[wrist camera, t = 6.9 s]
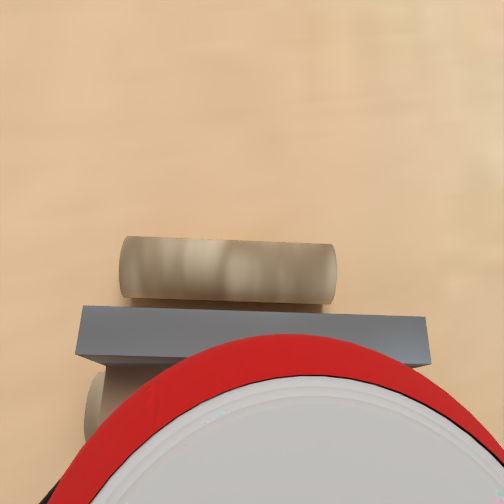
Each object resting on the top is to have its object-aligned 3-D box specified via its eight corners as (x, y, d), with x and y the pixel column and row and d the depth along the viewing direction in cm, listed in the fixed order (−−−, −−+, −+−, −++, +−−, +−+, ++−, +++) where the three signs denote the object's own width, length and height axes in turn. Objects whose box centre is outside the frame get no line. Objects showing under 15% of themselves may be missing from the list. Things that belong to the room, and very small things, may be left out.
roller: (324, 310, 22) (338, 295, 19) (130, 303, 21) (115, 287, 18) (321, 256, 23) (335, 234, 20) (137, 249, 22) (124, 226, 20)
